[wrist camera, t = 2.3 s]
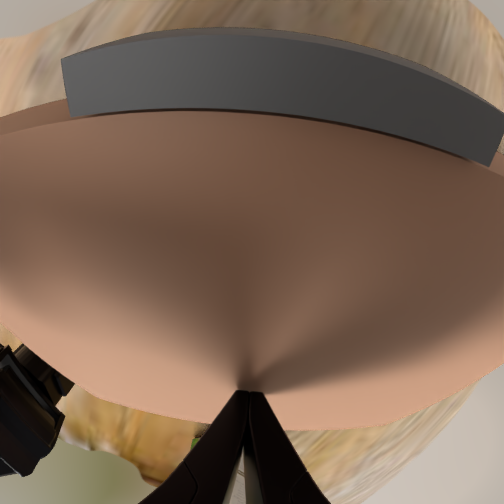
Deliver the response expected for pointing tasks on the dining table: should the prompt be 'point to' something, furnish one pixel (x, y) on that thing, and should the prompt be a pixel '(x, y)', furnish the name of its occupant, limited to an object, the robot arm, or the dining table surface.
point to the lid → (256, 228)
